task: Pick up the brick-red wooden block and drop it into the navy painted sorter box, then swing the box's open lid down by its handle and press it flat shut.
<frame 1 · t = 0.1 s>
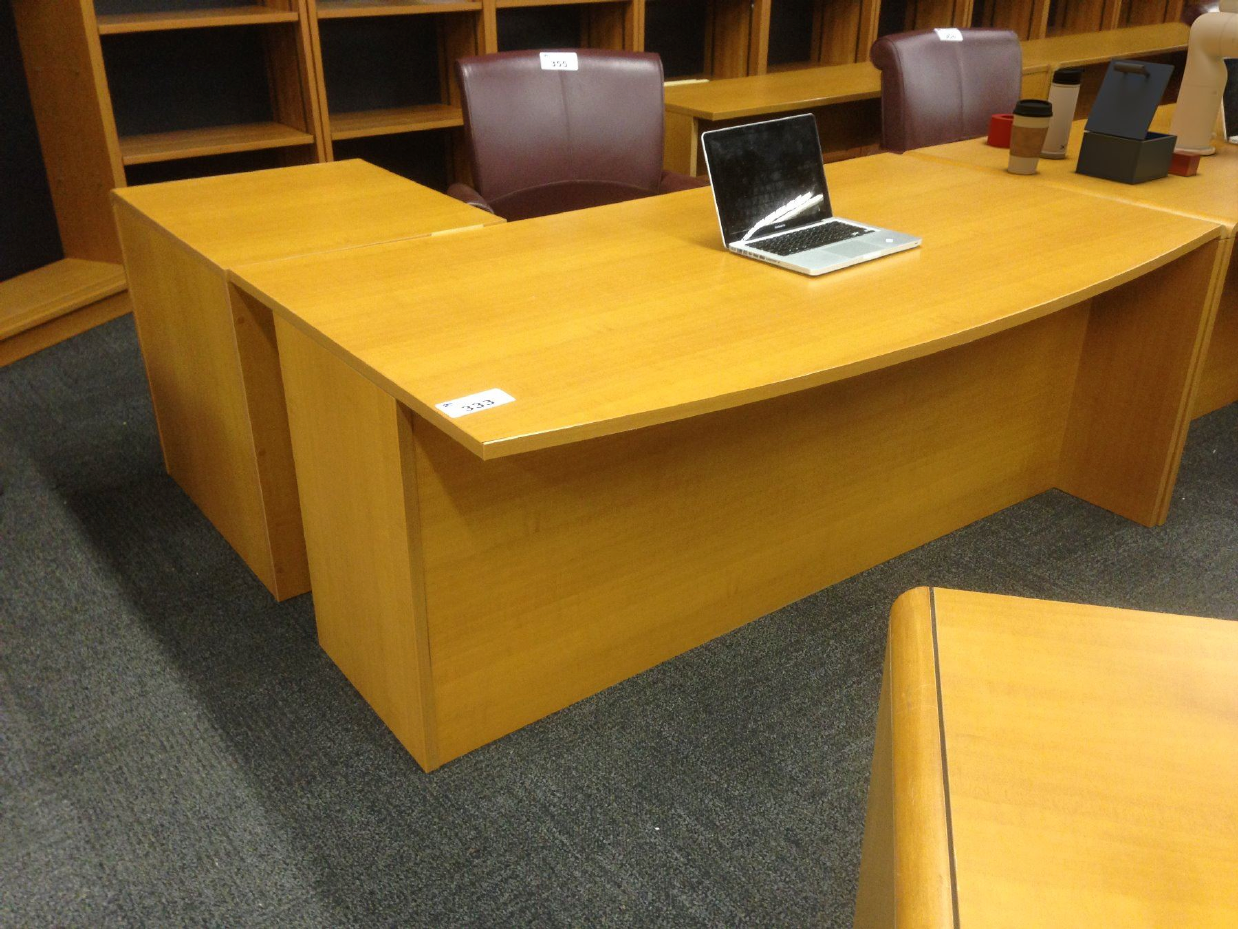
sorter: (1121, 174, 234), on the table
travel mug: (1051, 157, 251), on the table
lever: (1023, 147, 261), on the table
block: (1181, 173, 236), on the table
coffee cup: (1021, 172, 235), on the table
sorter lid: (1123, 95, 222), point 17 cm above the table, hinge at 70.0°
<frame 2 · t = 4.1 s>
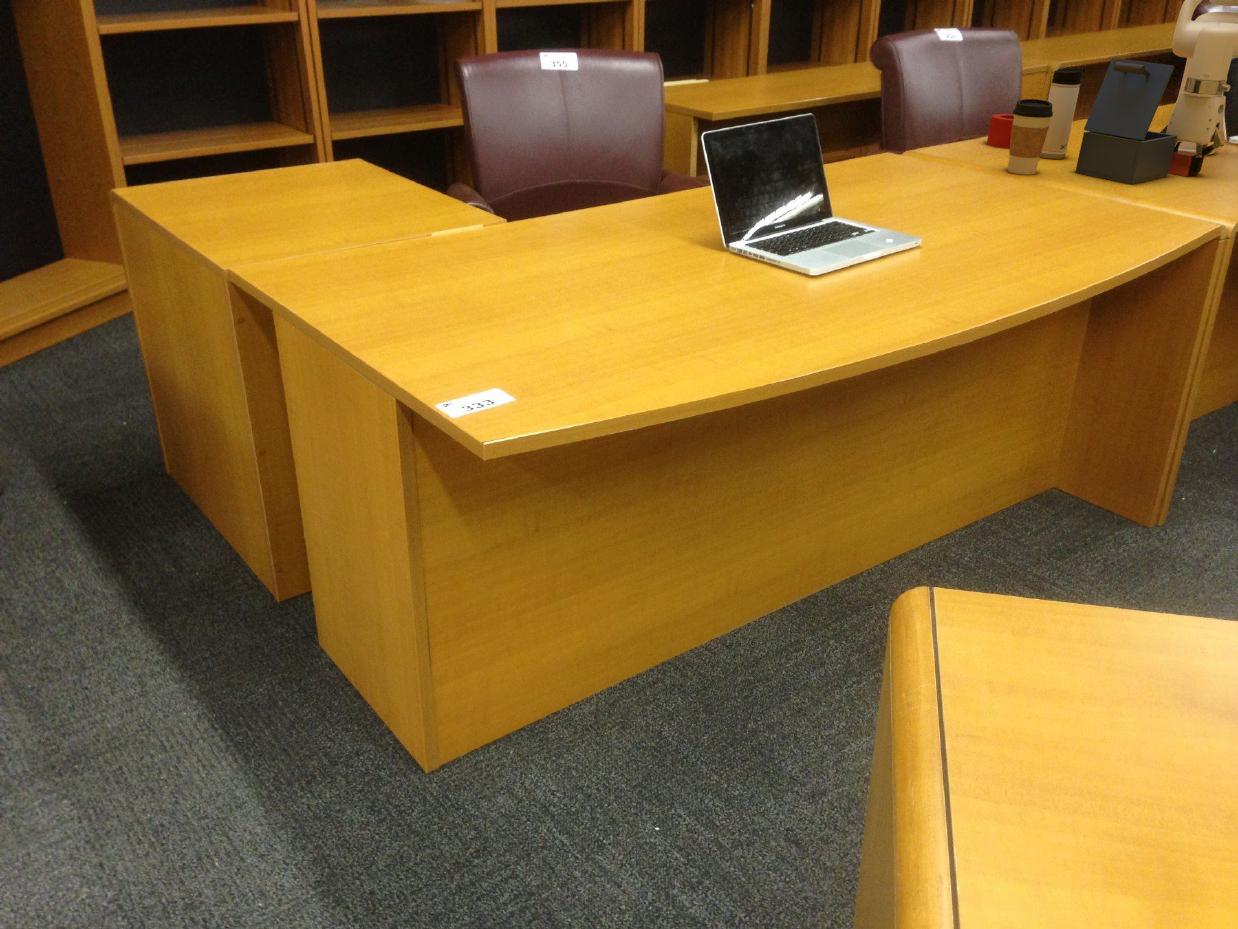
hand: (1181, 171, 236), 0 cm above the table, tool pointing down, fingers closed on block, 4 cm apart
block: (1181, 173, 236), on the table, touching gripper
everything else where it was.
when the fingers open (13 cm above the table, at t = 18.5 s): block stays where it is, resting on sorter.
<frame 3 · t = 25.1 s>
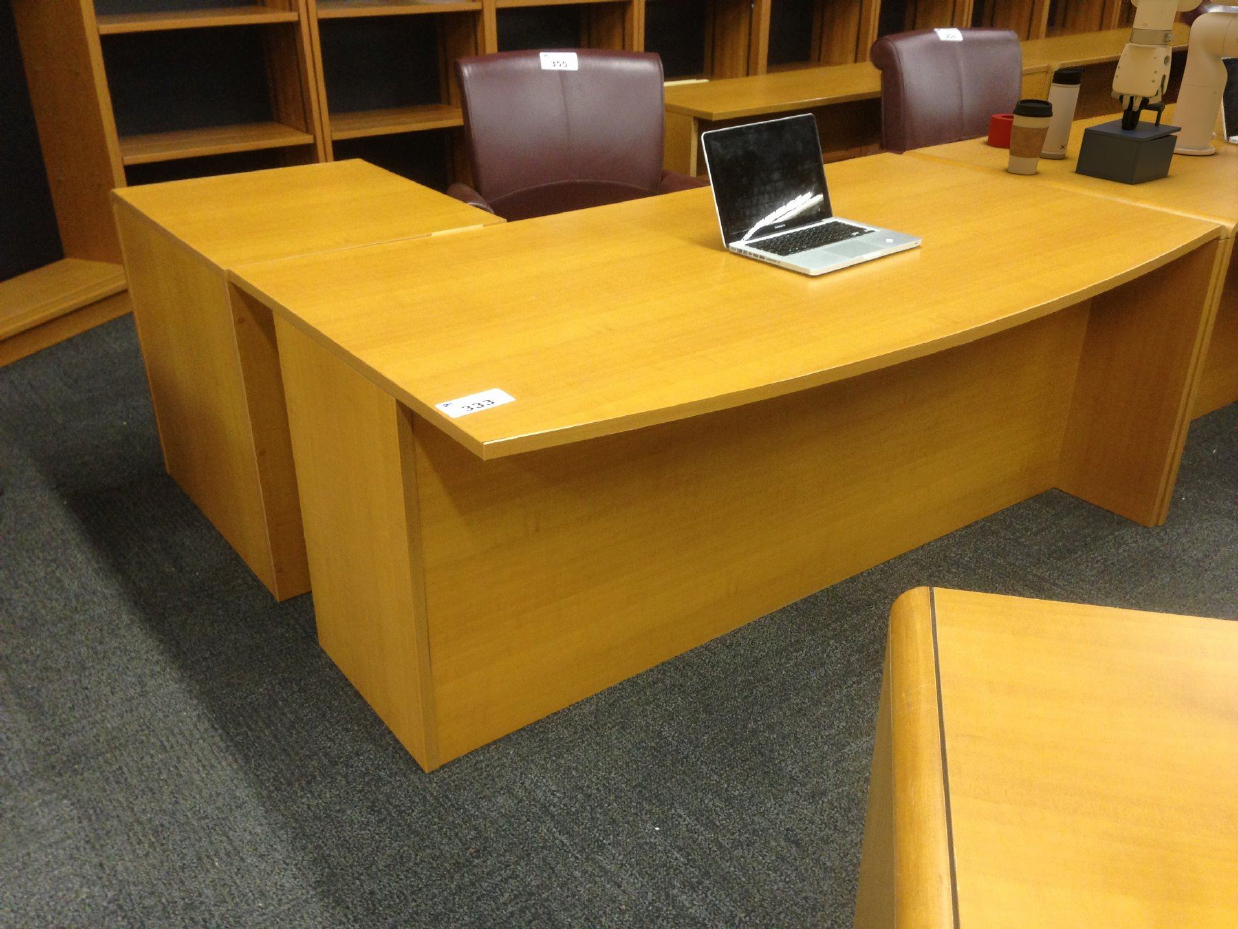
hand: (1128, 128, 229), 10 cm above the table, tool pointing down, fingers closed
block: (1130, 168, 236), point 1 cm above the table, touching sorter
sorter lid: (1135, 118, 229), point 12 cm above the table, hinge at 3.1°, touching gripper
everything else where it was.
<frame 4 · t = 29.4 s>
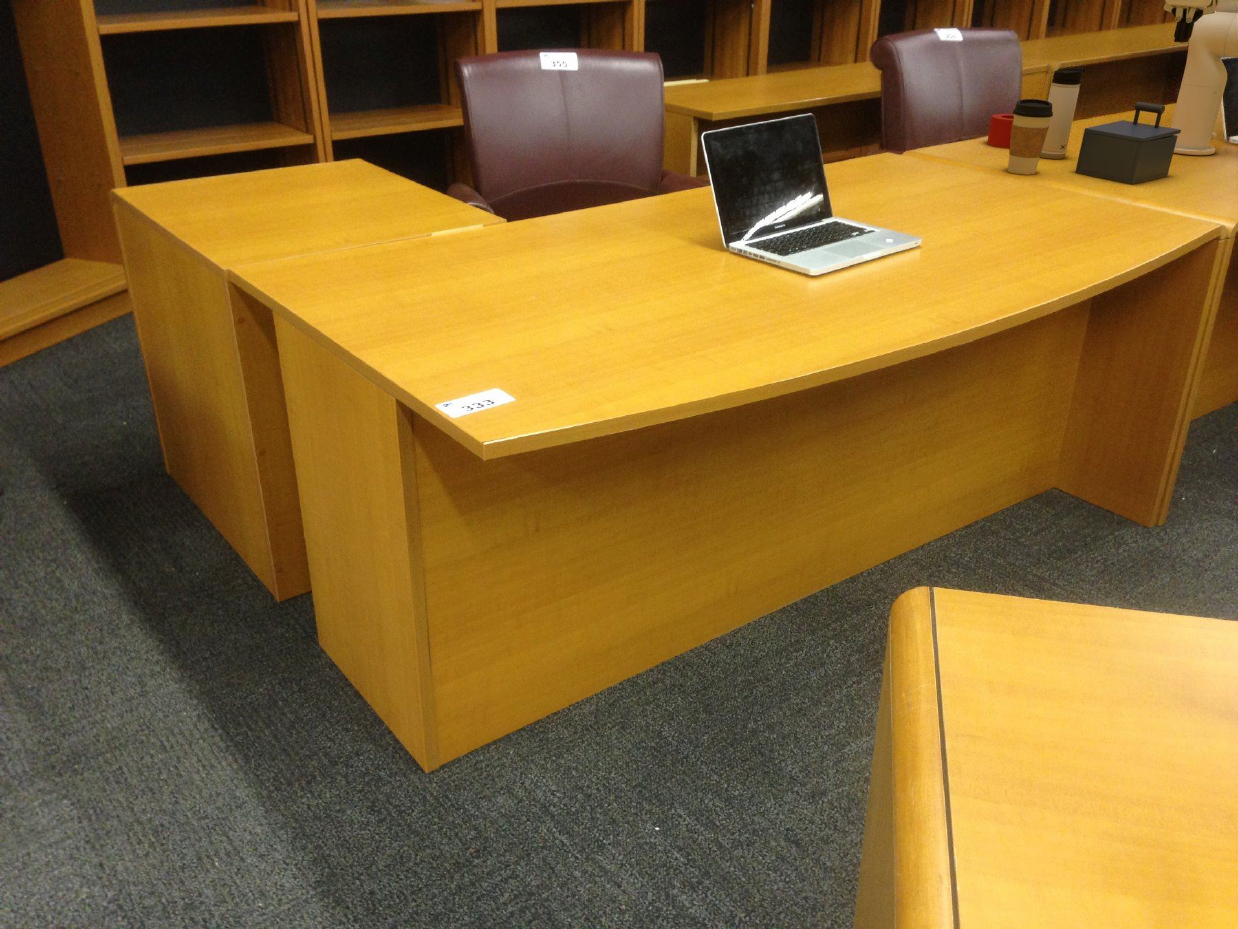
hand: (1181, 41, 228), 27 cm above the table, tool pointing down, fingers closed
sorter lid: (1134, 119, 229), point 12 cm above the table, hinge at 1.4°
everything else where it was.
at the end: block inside the target area in the sorter (3.5 cm from its centre), point 0.8 cm above the sorter's base; sorter lid at +1° (first picture: +70°) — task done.
